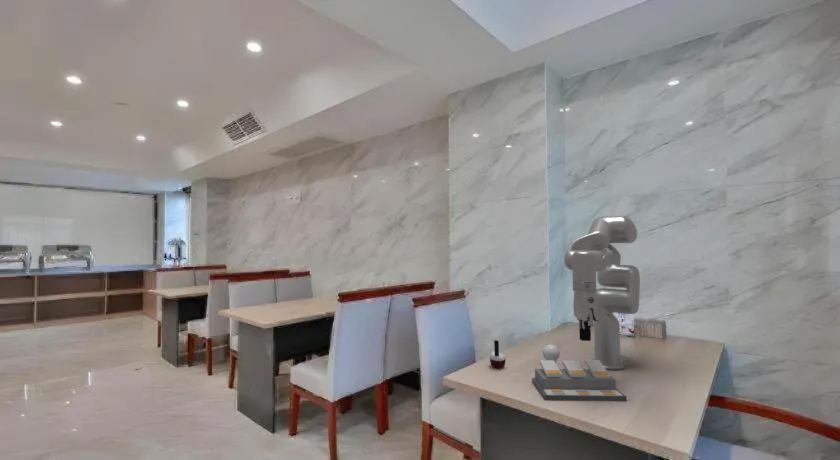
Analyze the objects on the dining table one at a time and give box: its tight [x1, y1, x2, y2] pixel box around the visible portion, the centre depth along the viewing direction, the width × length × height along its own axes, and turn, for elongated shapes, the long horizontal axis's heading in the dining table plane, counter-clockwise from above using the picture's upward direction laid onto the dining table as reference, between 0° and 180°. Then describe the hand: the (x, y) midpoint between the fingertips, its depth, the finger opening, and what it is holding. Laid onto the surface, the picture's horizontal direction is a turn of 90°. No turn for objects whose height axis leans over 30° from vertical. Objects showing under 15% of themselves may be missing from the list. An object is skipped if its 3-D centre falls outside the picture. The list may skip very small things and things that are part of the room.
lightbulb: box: [542, 344, 560, 364], centre depth 149 cm, size 6×6×11 cm
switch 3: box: [584, 359, 611, 379], centre depth 133 cm, size 5×9×1 cm, turn 178°
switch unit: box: [531, 368, 627, 402], centre depth 131 cm, size 26×16×5 cm, turn 88°
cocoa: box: [489, 339, 507, 370], centre depth 156 cm, size 10×6×12 cm, turn 142°
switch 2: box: [561, 359, 586, 377], centre depth 133 cm, size 5×9×1 cm, turn 178°
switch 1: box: [539, 359, 562, 377], centre depth 134 cm, size 5×9×1 cm, turn 178°
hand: (585, 340), depth 132 cm, fingers closed
